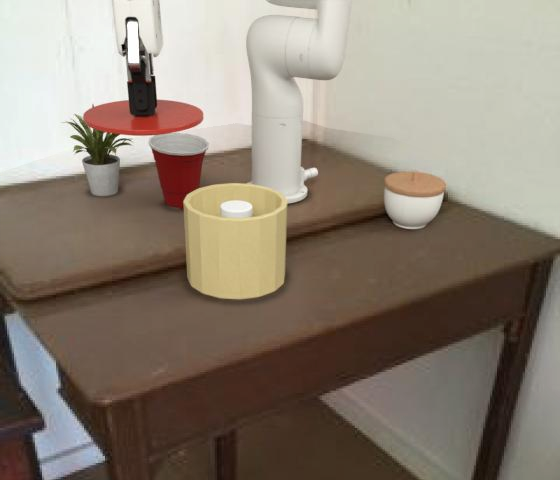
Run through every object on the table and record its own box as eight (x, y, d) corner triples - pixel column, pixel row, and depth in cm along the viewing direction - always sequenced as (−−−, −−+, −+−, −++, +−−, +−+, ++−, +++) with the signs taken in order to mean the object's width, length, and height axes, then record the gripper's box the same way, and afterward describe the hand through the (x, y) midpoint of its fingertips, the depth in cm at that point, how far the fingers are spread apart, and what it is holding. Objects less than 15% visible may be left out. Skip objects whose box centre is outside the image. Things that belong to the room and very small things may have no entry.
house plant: (105, 212, 128) (94, 120, 119) (49, 197, 133) (34, 108, 124) (154, 190, 138) (147, 104, 129) (100, 177, 144) (90, 93, 135)
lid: (163, 102, 102) (160, 56, 98) (227, 127, 92) (226, 77, 89) (63, 119, 94) (56, 69, 90) (121, 147, 84) (116, 93, 80)
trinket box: (445, 218, 130) (453, 168, 125) (430, 238, 122) (438, 186, 117) (390, 208, 134) (395, 159, 128) (372, 227, 125) (377, 175, 120)
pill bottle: (251, 286, 104) (252, 215, 98) (211, 281, 105) (209, 211, 99) (261, 268, 109) (261, 200, 103) (222, 264, 110) (221, 196, 104)
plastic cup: (186, 220, 126) (183, 153, 119) (140, 207, 131) (135, 141, 124) (222, 202, 134) (221, 138, 127) (177, 190, 138) (174, 128, 132)
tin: (244, 251, 115) (244, 176, 108) (304, 283, 106) (308, 204, 99) (169, 275, 107) (164, 196, 100) (227, 312, 98) (225, 228, 91)
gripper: (157, -47, 75) (169, 128, 86) (167, -56, 89) (176, 96, 99) (86, -48, 75) (106, 128, 85) (107, -58, 88) (122, 96, 98)
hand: (143, 109), depth 92 cm, fingers closed on lid, 2 cm apart
